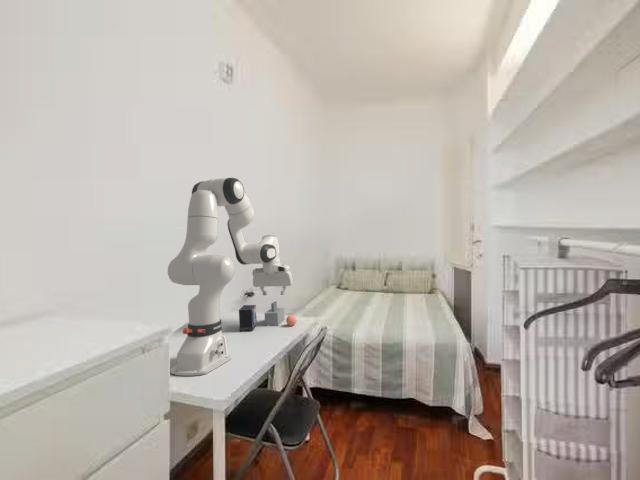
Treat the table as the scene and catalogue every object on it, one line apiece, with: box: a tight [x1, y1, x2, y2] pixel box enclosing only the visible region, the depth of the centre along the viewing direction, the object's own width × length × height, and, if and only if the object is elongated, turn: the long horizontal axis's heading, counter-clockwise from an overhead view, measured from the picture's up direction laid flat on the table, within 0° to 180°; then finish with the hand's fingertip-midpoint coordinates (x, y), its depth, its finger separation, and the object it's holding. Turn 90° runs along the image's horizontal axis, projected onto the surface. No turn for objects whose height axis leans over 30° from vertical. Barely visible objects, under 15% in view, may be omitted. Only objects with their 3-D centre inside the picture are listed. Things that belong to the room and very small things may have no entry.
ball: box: [285, 314, 297, 327], centre depth 177 cm, size 5×5×5 cm
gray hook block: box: [264, 301, 286, 327], centre depth 184 cm, size 11×7×10 cm, turn 169°
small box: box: [238, 304, 258, 332], centre depth 176 cm, size 11×6×10 cm, turn 179°
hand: (273, 295), depth 184 cm, fingers open, 8 cm apart
